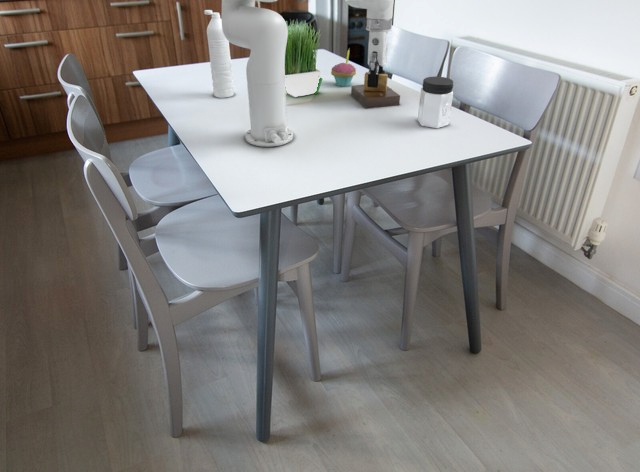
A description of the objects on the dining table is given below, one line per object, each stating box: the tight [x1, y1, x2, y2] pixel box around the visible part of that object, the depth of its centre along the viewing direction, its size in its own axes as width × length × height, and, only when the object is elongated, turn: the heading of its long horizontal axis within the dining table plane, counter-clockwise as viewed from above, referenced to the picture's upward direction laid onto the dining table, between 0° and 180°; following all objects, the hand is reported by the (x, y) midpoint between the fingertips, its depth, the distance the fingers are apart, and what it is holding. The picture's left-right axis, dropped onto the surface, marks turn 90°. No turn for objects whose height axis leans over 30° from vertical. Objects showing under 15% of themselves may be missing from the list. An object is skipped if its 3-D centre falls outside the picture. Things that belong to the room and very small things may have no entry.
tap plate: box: [350, 84, 401, 109], centre depth 159 cm, size 14×11×3 cm
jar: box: [417, 76, 454, 129], centre depth 139 cm, size 9×8×12 cm
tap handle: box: [363, 71, 389, 92], centre depth 157 cm, size 7×2×5 cm, turn 77°
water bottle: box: [203, 9, 235, 99], centre depth 158 cm, size 9×6×25 cm
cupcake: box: [330, 47, 357, 87], centre depth 171 cm, size 9×8×12 cm
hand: (374, 82), depth 157 cm, fingers open, 9 cm apart
